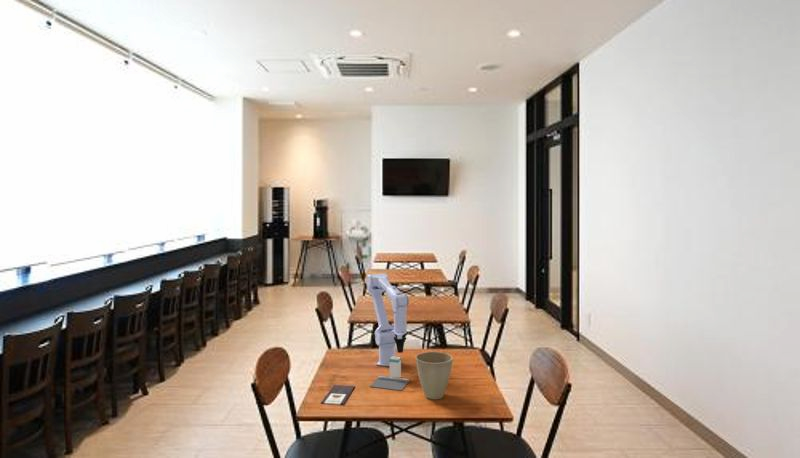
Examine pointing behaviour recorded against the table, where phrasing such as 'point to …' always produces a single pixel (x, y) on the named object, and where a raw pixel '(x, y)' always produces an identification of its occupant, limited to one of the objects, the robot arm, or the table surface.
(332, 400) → the chocolate bar
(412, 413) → the table surface
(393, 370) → the tall block
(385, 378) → the stop rail
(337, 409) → the table surface
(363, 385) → the table surface
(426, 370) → the plant pot
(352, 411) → the table surface
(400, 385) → the mat
